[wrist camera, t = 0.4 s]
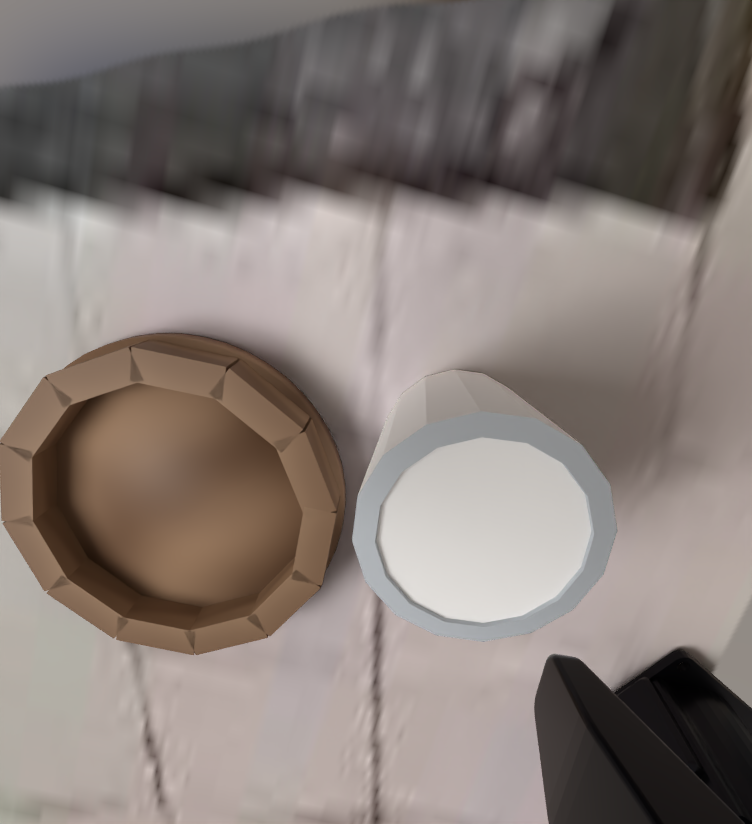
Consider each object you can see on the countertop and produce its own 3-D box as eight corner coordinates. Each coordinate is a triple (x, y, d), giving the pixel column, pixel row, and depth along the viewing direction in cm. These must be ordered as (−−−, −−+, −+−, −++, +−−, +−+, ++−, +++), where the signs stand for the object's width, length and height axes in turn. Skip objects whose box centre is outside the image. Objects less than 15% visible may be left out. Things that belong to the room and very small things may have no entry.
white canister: (332, 446, 20) (298, 545, 14) (452, 314, 18) (480, 354, 12) (458, 547, 21) (484, 685, 15) (583, 433, 20) (677, 531, 13)
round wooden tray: (412, 482, 20) (413, 509, 18) (222, 667, 24) (205, 707, 22) (144, 258, 18) (111, 259, 16) (-23, 496, 22) (-68, 523, 20)
